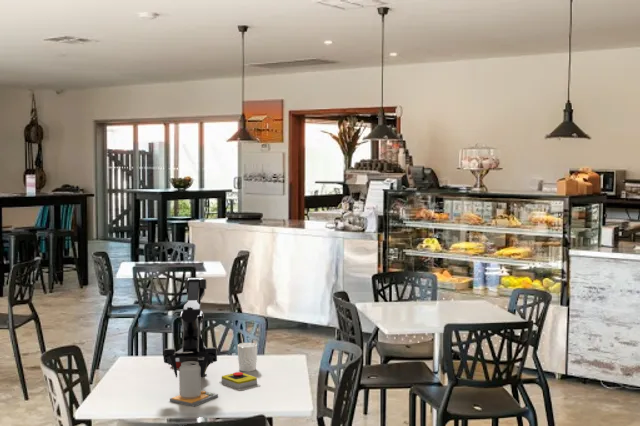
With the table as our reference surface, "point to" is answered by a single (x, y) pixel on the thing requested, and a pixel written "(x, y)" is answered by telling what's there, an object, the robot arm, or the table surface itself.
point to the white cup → (247, 356)
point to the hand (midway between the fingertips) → (189, 376)
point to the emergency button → (240, 381)
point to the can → (190, 380)
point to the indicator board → (195, 399)
